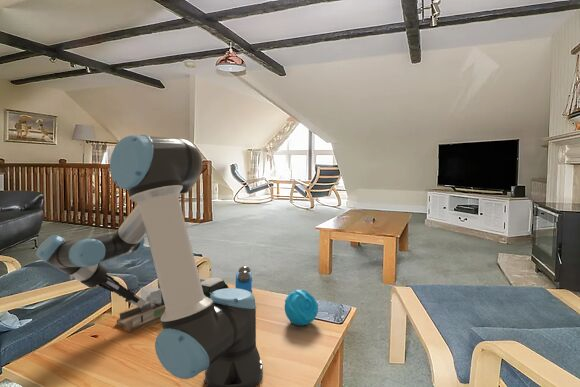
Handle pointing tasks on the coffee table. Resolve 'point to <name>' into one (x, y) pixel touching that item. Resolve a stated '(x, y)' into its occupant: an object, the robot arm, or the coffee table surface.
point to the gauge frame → (140, 317)
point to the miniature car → (212, 285)
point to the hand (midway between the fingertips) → (142, 304)
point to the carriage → (150, 298)
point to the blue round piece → (301, 307)
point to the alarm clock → (244, 279)
